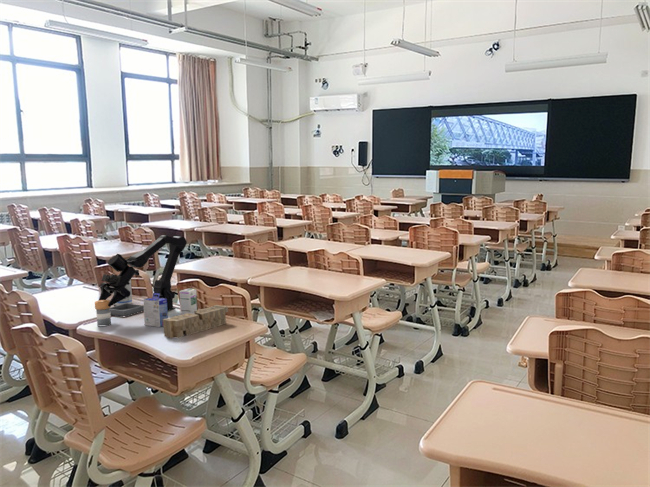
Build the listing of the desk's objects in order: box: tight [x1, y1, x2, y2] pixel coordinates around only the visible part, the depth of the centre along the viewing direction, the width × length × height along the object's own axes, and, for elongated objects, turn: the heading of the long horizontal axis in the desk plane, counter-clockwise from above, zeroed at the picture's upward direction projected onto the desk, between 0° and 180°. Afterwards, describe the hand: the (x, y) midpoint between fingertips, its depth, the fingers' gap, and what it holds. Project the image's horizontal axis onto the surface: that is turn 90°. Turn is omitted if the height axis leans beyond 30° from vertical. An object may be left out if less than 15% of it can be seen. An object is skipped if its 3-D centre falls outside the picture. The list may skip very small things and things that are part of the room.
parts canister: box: [95, 307, 112, 326], centre depth 228 cm, size 6×6×8 cm
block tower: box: [162, 304, 229, 339], centre depth 217 cm, size 8×8×29 cm
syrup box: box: [179, 288, 199, 315], centre depth 233 cm, size 6×6×14 cm
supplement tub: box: [112, 279, 133, 306], centre depth 268 cm, size 10×10×15 cm
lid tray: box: [110, 303, 144, 317], centre depth 249 cm, size 12×12×3 cm
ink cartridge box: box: [142, 292, 169, 328], centre depth 225 cm, size 10×6×14 cm, turn 65°
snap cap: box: [94, 299, 112, 310], centre depth 227 cm, size 7×7×3 cm
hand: (103, 304), depth 228 cm, fingers open, 9 cm apart
